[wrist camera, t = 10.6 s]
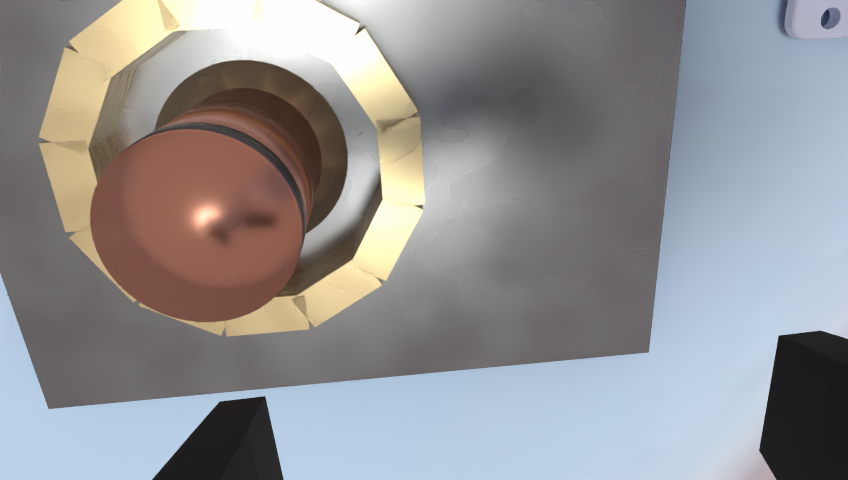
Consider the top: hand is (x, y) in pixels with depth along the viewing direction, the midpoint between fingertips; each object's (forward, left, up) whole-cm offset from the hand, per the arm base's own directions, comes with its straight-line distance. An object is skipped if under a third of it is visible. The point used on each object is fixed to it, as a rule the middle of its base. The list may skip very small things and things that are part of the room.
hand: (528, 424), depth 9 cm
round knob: (+5, -2, -8) cm, 10 cm away
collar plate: (+3, -2, -9) cm, 10 cm away
